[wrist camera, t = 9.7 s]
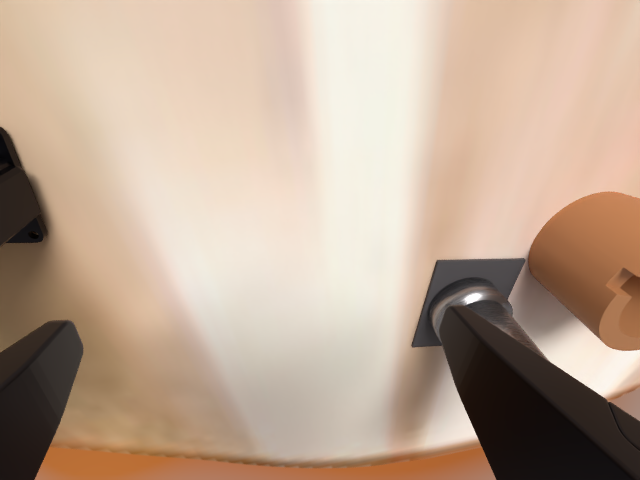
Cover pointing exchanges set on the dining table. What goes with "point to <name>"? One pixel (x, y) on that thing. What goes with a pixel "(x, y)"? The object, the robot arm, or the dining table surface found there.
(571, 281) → the bracket
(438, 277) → the dark grey rectangular plate
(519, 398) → the robot arm
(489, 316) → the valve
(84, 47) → the dining table surface
